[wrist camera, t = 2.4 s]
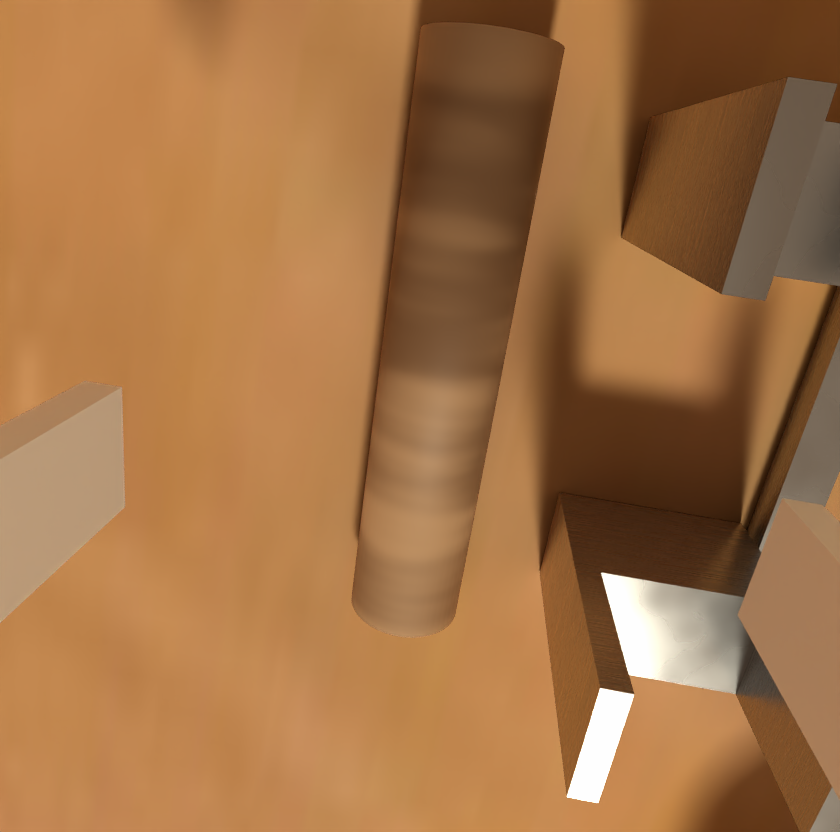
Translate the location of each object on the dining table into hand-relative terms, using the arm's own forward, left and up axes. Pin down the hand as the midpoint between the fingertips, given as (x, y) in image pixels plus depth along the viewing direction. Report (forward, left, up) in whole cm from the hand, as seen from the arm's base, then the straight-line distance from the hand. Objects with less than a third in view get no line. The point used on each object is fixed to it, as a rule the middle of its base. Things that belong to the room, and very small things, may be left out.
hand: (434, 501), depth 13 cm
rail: (0, 0, -11) cm, 11 cm away
